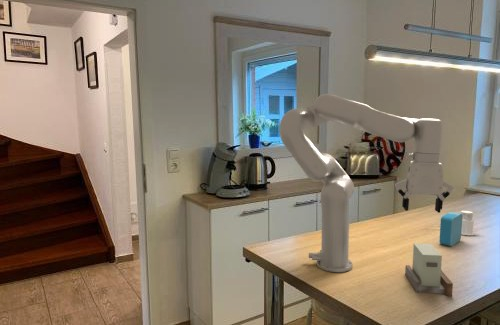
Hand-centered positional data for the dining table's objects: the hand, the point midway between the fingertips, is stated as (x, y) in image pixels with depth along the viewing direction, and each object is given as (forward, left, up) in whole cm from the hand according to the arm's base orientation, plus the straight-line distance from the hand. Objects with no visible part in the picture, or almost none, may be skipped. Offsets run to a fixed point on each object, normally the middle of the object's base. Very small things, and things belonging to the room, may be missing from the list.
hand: (421, 210), depth 122 cm
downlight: (+35, +51, -24) cm, 66 cm away
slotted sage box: (+1, -3, -22) cm, 22 cm away
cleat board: (+2, -1, -23) cm, 23 cm away
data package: (+24, +38, -24) cm, 51 cm away
